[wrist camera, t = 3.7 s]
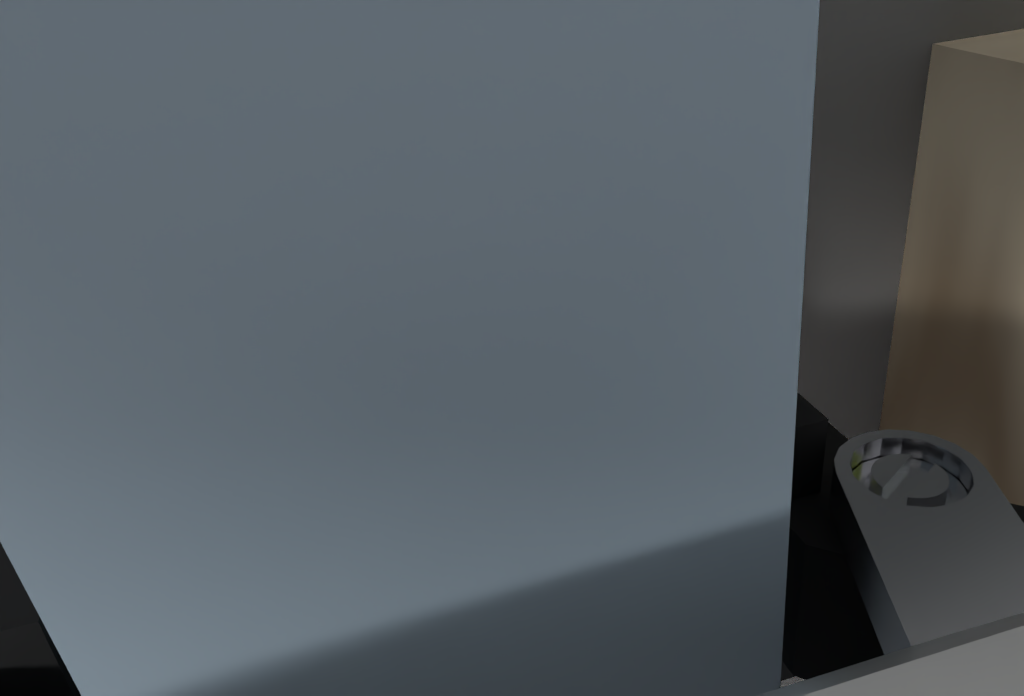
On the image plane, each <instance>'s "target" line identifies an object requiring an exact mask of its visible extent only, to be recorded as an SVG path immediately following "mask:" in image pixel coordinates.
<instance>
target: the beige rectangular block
mask: <svg viewBox="0 0 1024 696" xmlns="http://www.w3.org/2000/svg"><path fill="white" fill-rule="evenodd" d="M887 429H891V430H911V431H915V432H920V433H925V434H930V435H934V436H937V437H939V438H942V439H945V440H947V441H950V442H952V443H955V444H957V445H958V446H960V447H961V448H963V449H965V450H966V451H968V452H970V453H971V454H973V455H974V456H975V457H976V458H977V459H978V460H979V461H980V462H981V463H982V464H983V465H984V466H985V468H986V469H987V470H988V472H989V473H990V475H991V476H992V478H993V479H994V481H995V482H996V483H997V485H998V486H999V488H1000V489H1001V491H1002V492H1003V494H1004V495H1005V497H1006V498H1007V500H1008V501H1009V502H1010V503H1012V504H1016V505H1021V506H1024V29H1019V30H1013V31H1007V32H1001V33H995V34H989V35H983V36H976V37H970V38H964V39H958V40H952V41H946V42H940V43H934V44H932V51H931V59H930V66H929V73H928V80H927V88H926V95H925V102H924V109H923V117H922V124H921V131H920V138H919V146H918V153H917V160H916V167H915V174H914V182H913V189H912V196H911V203H910V211H909V218H908V225H907V232H906V240H905V247H904V254H903V261H902V268H901V276H900V283H899V290H898V297H897V305H896V312H895V319H894V326H893V334H892V341H891V348H890V355H889V363H888V370H887V377H886V384H885V391H884V399H883V406H882V413H881V420H880V428H879V430H887Z"/></svg>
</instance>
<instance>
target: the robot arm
mask: <svg viewBox="0 0 1024 696" xmlns="http://www.w3.org/2000/svg"><path fill="white" fill-rule="evenodd" d="M794 676H797V677H800V678H803V679H806V680H804V681H801V682H798V683H794V684H791V685H788V686H785V687H782V688H779V689H776V690H772V691H769V692H766V693H763V694H760V695H757V696H1024V506H1021V505H1016V504H1012V503H1010V502H1009V501H1008V500H1007V498H1006V497H1005V495H1004V494H1003V492H1002V491H1001V489H1000V488H999V486H998V485H997V483H996V482H995V481H994V479H993V478H992V476H991V475H990V473H989V472H988V470H987V469H986V468H985V466H984V465H983V464H982V463H981V462H980V461H979V460H978V459H977V458H976V457H975V456H974V455H973V454H971V453H970V452H968V451H966V450H965V449H963V448H961V447H960V446H958V445H957V444H955V443H952V442H950V441H947V440H945V439H942V438H939V437H937V436H934V435H930V434H925V433H920V432H915V431H911V430H891V429H887V430H879V431H871V432H866V433H863V434H861V435H858V436H855V437H853V438H850V439H849V440H848V439H847V438H845V437H844V436H843V435H842V434H841V433H840V432H839V431H837V430H836V429H835V428H834V427H833V426H832V425H831V424H829V423H828V419H827V418H826V417H825V416H824V415H823V414H822V413H820V412H819V411H818V410H817V409H816V408H815V407H814V406H812V405H811V404H810V403H809V402H808V401H807V400H806V399H804V398H803V397H802V396H801V395H800V394H799V393H797V405H796V423H795V440H794V458H793V475H792V492H791V510H790V527H789V544H788V562H787V579H786V596H785V614H784V631H783V649H782V666H781V681H782V680H785V679H788V678H791V677H794ZM0 696H81V694H80V692H79V690H78V688H77V686H76V684H75V683H74V681H73V679H72V677H71V675H70V673H69V671H68V669H67V667H66V665H65V664H64V662H63V660H62V658H61V656H60V654H59V652H58V650H57V648H56V647H55V645H54V643H53V641H52V639H51V637H50V635H49V633H48V631H47V629H46V628H45V626H44V624H43V622H42V620H41V618H40V616H39V614H38V612H37V611H36V609H35V607H34V605H33V603H32V601H31V599H30V597H29V595H28V593H27V592H26V590H25V588H24V586H23V584H22V582H21V580H20V578H19V576H18V575H17V573H16V571H15V569H14V567H13V565H12V563H11V561H10V559H9V557H8V556H7V554H6V552H5V550H4V548H3V546H2V544H1V542H0Z"/></svg>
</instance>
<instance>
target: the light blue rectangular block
mask: <svg viewBox="0 0 1024 696" xmlns="http://www.w3.org/2000/svg"><path fill="white" fill-rule="evenodd" d="M819 6H820V0H0V542H1V544H2V546H3V548H4V550H5V552H6V554H7V556H8V557H9V559H10V561H11V563H12V565H13V567H14V569H15V571H16V573H17V575H18V576H19V578H20V580H21V582H22V584H23V586H24V588H25V590H26V592H27V593H28V595H29V597H30V599H31V601H32V603H33V605H34V607H35V609H36V611H37V612H38V614H39V616H40V618H41V620H42V622H43V624H44V626H45V628H46V629H47V631H48V633H49V635H50V637H51V639H52V641H53V643H54V645H55V647H56V648H57V650H58V652H59V654H60V656H61V658H62V660H63V662H64V664H65V665H66V667H67V669H68V671H69V673H70V675H71V677H72V679H73V681H74V683H75V684H76V686H77V688H78V690H79V692H80V694H81V696H757V695H760V694H763V693H766V692H769V691H772V690H776V689H779V688H780V683H781V666H782V649H783V631H784V614H785V596H786V579H787V562H788V544H789V527H790V510H791V492H792V475H793V458H794V440H795V423H796V405H797V388H798V371H799V353H800V336H801V319H802V301H803V284H804V267H805V249H806V232H807V214H808V197H809V180H810V162H811V145H812V128H813V110H814V93H815V76H816V58H817V41H818V23H819Z"/></svg>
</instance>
